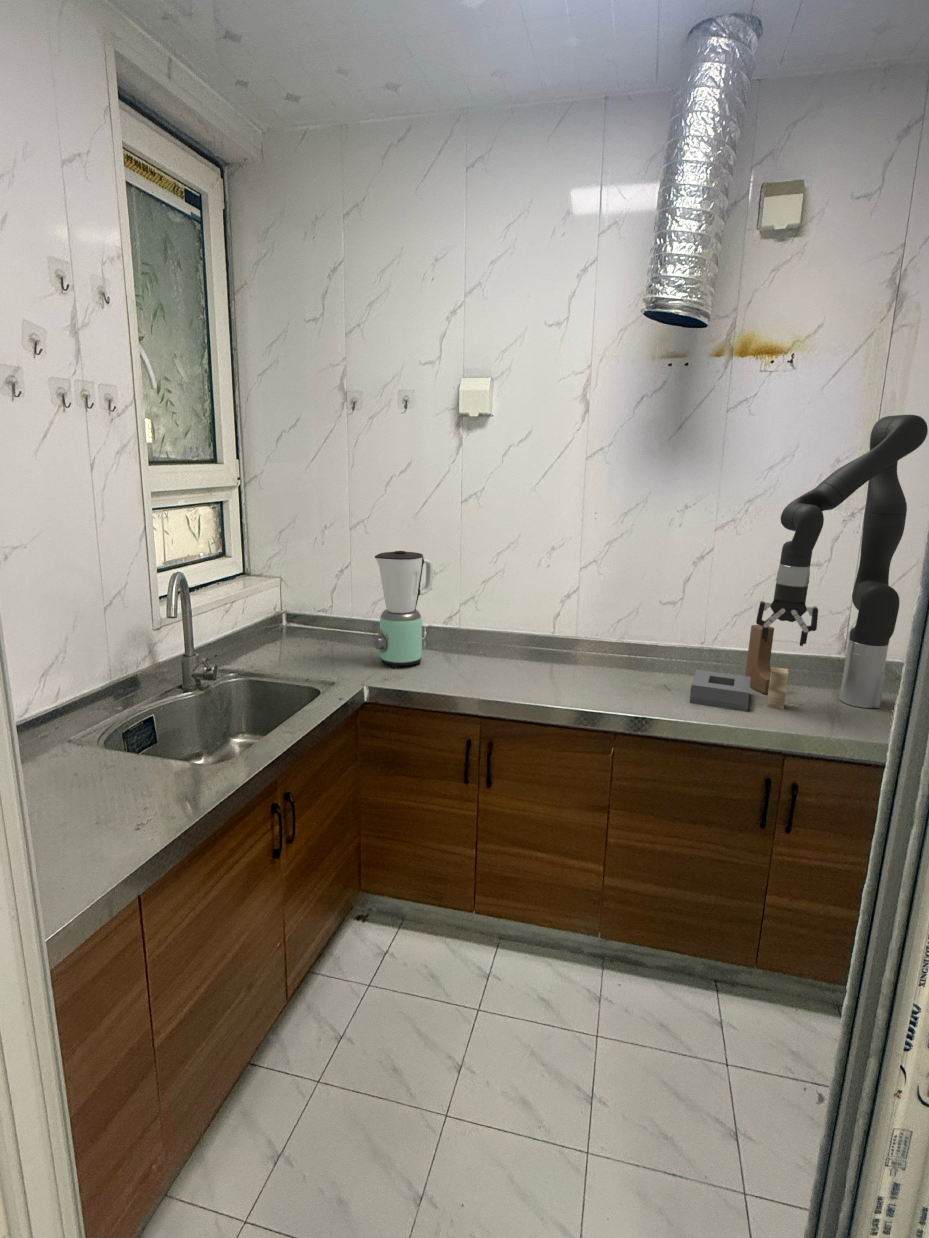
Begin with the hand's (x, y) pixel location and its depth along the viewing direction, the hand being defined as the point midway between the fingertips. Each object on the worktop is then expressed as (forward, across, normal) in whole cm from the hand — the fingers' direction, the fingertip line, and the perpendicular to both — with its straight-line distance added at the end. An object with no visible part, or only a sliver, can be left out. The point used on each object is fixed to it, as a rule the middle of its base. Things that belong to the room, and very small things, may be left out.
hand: (783, 643), depth 178 cm
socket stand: (+18, +14, +1) cm, 22 cm away
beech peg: (+17, 0, 0) cm, 17 cm away
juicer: (+19, +107, +12) cm, 109 cm away
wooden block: (+18, +3, -13) cm, 22 cm away
